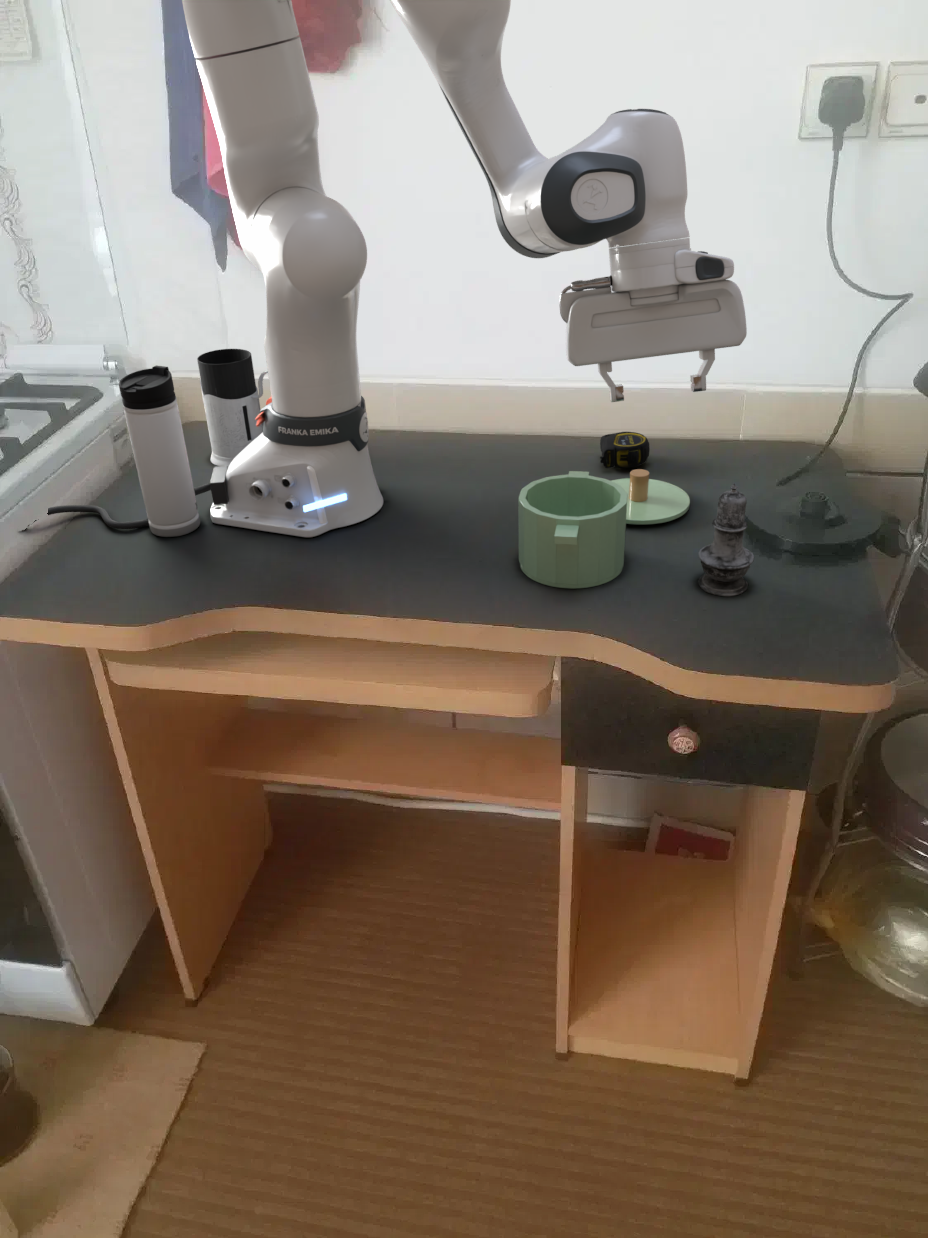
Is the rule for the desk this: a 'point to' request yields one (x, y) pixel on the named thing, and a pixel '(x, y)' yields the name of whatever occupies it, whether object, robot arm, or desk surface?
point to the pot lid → (652, 499)
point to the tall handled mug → (230, 401)
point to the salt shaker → (727, 548)
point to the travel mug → (160, 451)
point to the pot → (572, 530)
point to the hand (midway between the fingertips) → (657, 395)
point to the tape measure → (624, 449)
